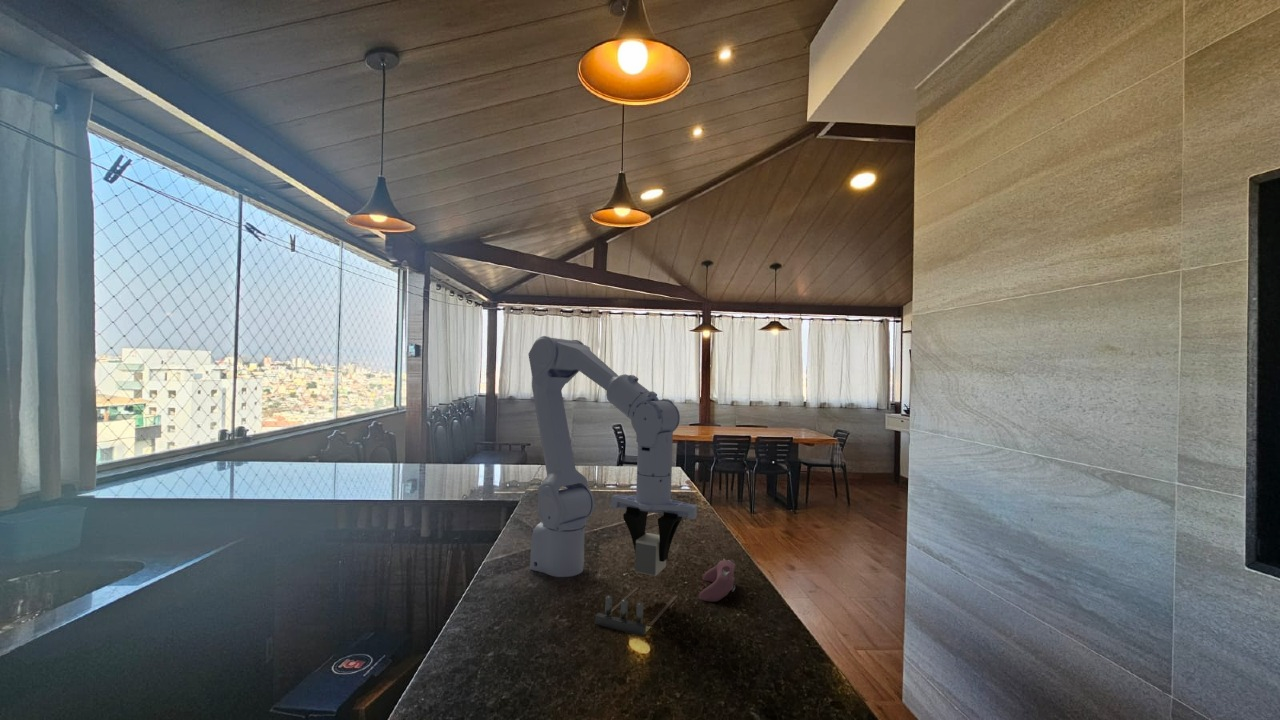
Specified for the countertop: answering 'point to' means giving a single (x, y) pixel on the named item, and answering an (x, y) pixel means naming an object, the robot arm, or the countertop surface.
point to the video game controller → (719, 581)
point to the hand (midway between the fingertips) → (651, 557)
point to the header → (622, 618)
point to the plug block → (648, 555)
